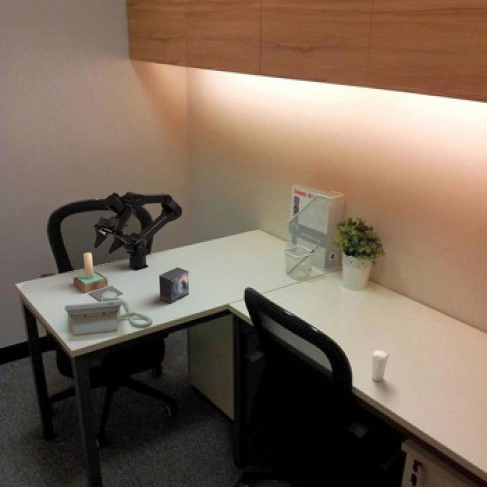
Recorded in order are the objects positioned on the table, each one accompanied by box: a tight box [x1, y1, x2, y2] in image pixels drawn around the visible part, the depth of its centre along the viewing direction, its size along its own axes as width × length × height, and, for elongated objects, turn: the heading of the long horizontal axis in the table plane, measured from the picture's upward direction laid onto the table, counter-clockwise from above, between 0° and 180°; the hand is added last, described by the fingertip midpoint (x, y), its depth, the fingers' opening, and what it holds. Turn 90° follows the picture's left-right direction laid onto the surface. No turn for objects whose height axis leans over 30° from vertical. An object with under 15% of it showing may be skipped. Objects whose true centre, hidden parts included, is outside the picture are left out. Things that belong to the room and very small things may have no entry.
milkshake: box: [371, 349, 390, 382], centre depth 162 cm, size 5×5×10 cm
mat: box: [88, 285, 124, 302], centre depth 215 cm, size 10×9×1 cm
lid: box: [75, 252, 104, 285], centre depth 220 cm, size 8×8×12 cm
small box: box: [158, 266, 190, 305], centre depth 212 cm, size 11×6×10 cm, turn 143°
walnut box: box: [72, 270, 109, 294], centre depth 222 cm, size 10×10×3 cm
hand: (101, 250), depth 223 cm, fingers open, 9 cm apart
